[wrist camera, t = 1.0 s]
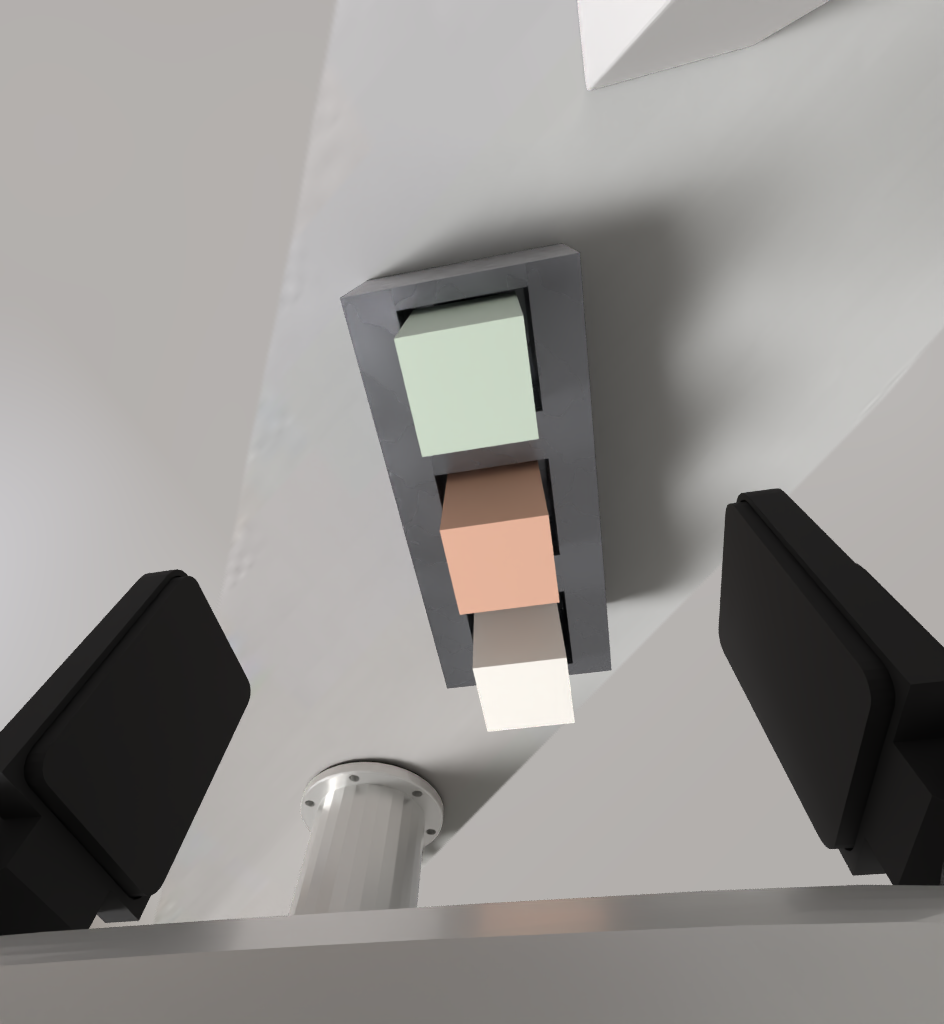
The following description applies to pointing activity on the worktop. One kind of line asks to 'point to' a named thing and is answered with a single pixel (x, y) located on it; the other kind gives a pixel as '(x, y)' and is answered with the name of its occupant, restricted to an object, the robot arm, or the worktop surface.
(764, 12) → the milk carton
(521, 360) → the pale green block
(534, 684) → the ivory key
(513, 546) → the peach key
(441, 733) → the worktop surface
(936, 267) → the worktop surface
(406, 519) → the grey socket block
